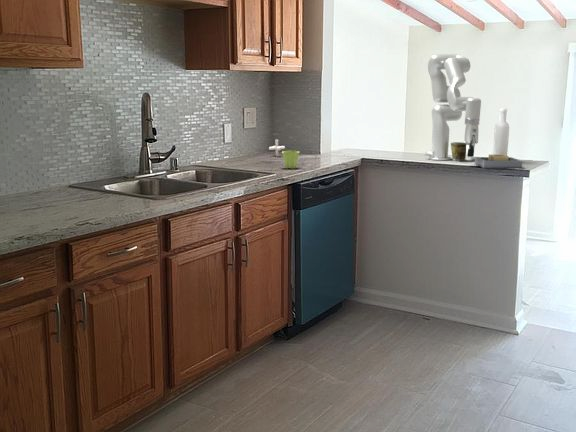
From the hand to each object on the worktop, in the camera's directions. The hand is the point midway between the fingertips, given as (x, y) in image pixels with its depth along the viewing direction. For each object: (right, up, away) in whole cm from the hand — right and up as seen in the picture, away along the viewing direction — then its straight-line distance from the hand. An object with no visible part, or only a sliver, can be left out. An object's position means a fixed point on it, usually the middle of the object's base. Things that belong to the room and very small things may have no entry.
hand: (469, 155), depth 336 cm
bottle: (+22, -2, +17) cm, 28 cm away
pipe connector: (-105, +4, +44) cm, 114 cm away
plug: (0, -2, +1) cm, 2 cm away
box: (+15, -6, 0) cm, 16 cm away
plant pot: (-97, -7, -5) cm, 97 cm away
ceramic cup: (0, -1, +23) cm, 23 cm away
